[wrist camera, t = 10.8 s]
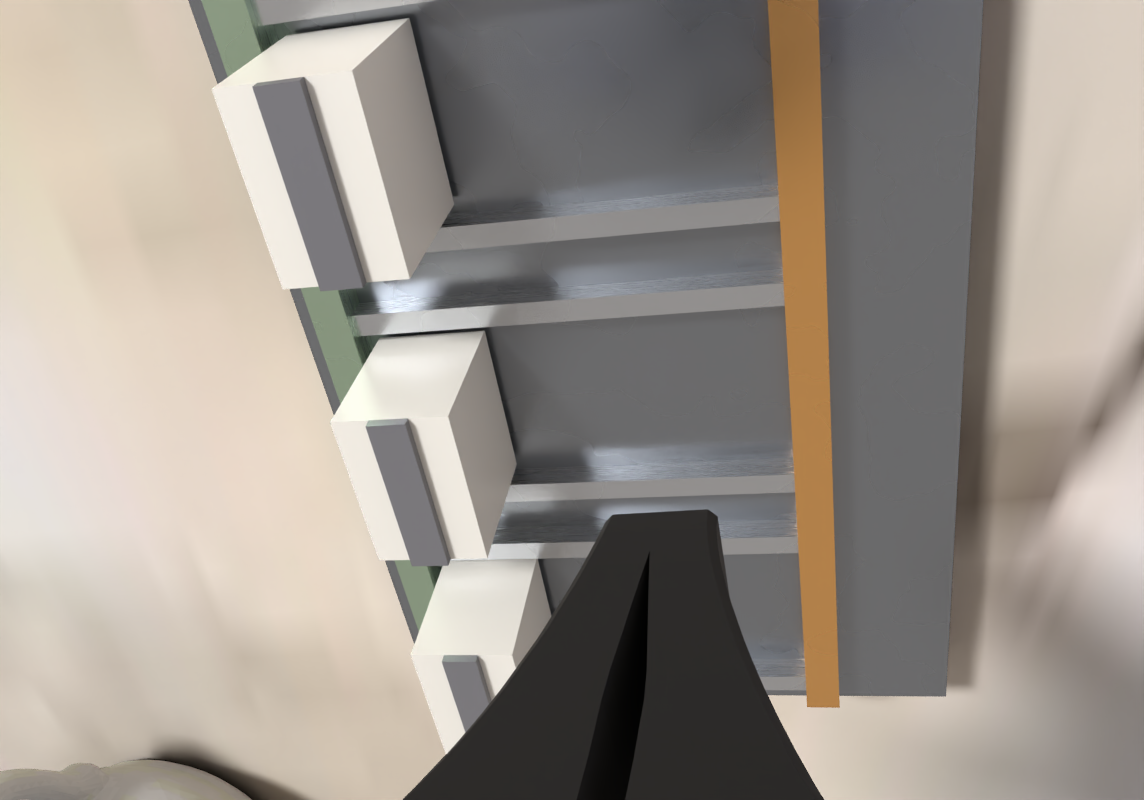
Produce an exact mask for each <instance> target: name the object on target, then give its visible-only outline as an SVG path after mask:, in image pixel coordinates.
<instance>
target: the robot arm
mask: <svg viewBox="0 0 1144 800" xmlns="http://www.w3.org/2000/svg"><path fill="white" fill-rule="evenodd" d="M403 800H824V799H823V797H822V795H821V794H820V792H819V791H818V789H817V787H816V786H815V784H814V782H813V781H812V779H811V777H810V775H809V774H808V772H807V770H806V768H805V766H804V765H803V763H802V761H801V759H800V758H799V756H798V754H797V752H796V750H795V749H794V747H793V745H792V743H791V741H790V739H789V737H788V735H787V733H786V731H785V729H784V728H783V726H782V724H781V722H780V720H779V718H778V716H777V714H776V712H775V710H774V708H773V706H772V703H771V701H770V699H769V697H768V695H767V693H766V691H765V688H764V686H763V684H762V681H761V679H760V677H759V675H758V672H757V670H756V668H755V665H754V663H753V661H752V658H751V656H750V653H749V651H748V648H747V646H746V643H745V641H744V638H743V635H742V632H741V629H740V626H739V624H738V621H737V618H736V615H735V612H734V609H733V606H732V603H731V600H730V596H729V590H728V583H727V576H726V569H725V563H724V556H723V549H722V542H721V536H720V529H719V522H718V516H717V515H715V514H714V513H712V512H711V511H710V510H708V509H704V510H685V511H667V512H649V513H631V514H613V515H612V516H611V517H610V518H609V519H608V520H607V521H606V522H605V524H604V526H603V528H602V530H601V532H600V534H599V536H598V537H597V539H596V541H595V543H594V545H593V547H592V549H591V551H590V552H589V554H588V556H587V558H586V560H585V562H584V563H583V565H582V567H581V569H580V570H579V572H578V574H577V576H576V577H575V579H574V581H573V582H572V584H571V586H570V587H569V589H568V591H567V593H566V594H565V596H564V597H563V599H562V600H561V602H560V604H559V605H558V607H557V608H556V610H555V612H554V613H553V615H552V616H551V618H550V619H549V621H548V623H547V624H546V626H545V627H544V629H543V630H542V632H541V634H540V635H539V637H538V638H537V640H536V641H535V642H534V644H533V645H532V647H531V648H530V649H529V651H528V652H527V654H526V655H525V656H524V658H523V659H522V661H521V662H520V663H519V665H518V666H517V668H516V669H515V670H514V672H513V673H512V675H511V676H510V677H509V679H508V680H507V681H506V683H505V684H504V686H503V687H502V688H501V690H500V691H499V692H498V693H497V695H496V696H495V697H494V699H493V700H492V701H491V702H490V704H489V705H488V706H487V707H486V709H485V710H484V711H483V712H482V714H481V715H480V716H479V717H478V718H477V720H476V721H475V722H474V723H473V724H472V726H471V727H470V728H469V729H468V730H467V731H466V733H465V734H464V735H463V736H462V737H461V738H460V740H459V741H458V742H457V743H456V744H455V745H454V746H453V748H452V749H451V750H450V751H449V752H448V753H447V754H446V755H445V756H444V757H443V758H442V759H441V760H440V761H439V762H438V764H437V765H436V766H435V767H434V768H433V769H432V770H431V771H430V772H429V773H428V774H427V775H426V776H425V777H424V778H423V779H422V780H421V782H420V783H419V784H418V785H417V786H416V787H415V788H414V789H413V790H412V791H411V792H410V793H409V794H408V795H407V796H406V797H405V798H404V799H403Z"/></svg>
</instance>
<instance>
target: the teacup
mask: <svg viewBox="0 0 1144 800" xmlns="http://www.w3.org/2000/svg"><path fill="white" fill-rule="evenodd" d="M0 800H252V799H251V798H249V797H248V796H247V795H246V794H244V793H243V792H242V791H240V790H238V789H237V788H235V787H233V786H232V785H230V784H228V783H227V782H225V781H223V780H221V779H220V778H218V777H216V776H214V775H211V774H209V773H207V772H204V771H202V770H199V769H196V768H193V767H190V766H186V765H181V764H177V763H172V762H168V761H160V760H133V761H127V762H122V763H119V764H116V765H113V766H111V767H104V768H99V767H97V766H95V765H93V764H84V763H77V764H73V765H70V766H68V767H67V768H65V769H63V770H62V771H60V772H56V771H48V770H38V769H14V770H6V771H0Z"/></svg>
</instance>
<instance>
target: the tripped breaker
mask: <svg viewBox="0 0 1144 800" xmlns="http://www.w3.org/2000/svg"><path fill="white" fill-rule="evenodd" d="M550 618H551V612H550V608H549V604H548V600H547V596H546V592H545V587H544V583H543V579H542V575H541V571H540V567H539V563H538V559H496V560H450V563H449V565H448V566H442V569H441V572H440V575H439V578H438V580H437V583H436V586H435V589H434V591H433V594H432V597H431V600H430V603H429V605H428V608H427V611H426V614H425V616H424V619H423V622H422V625H421V628H420V630H419V633H418V636H417V639H416V641H415V644H414V647H413V650H412V653H411V658H412V661H413V663H414V666H415V669H416V672H417V675H418V677H419V680H420V683H421V686H422V689H423V691H424V694H425V697H426V700H427V703H428V705H429V708H430V711H431V714H432V717H433V719H434V722H435V725H436V728H437V731H438V733H439V736H440V739H441V742H442V745H443V747H444V750H445V753H446V754H447V753H448V752H449V751H450V750H451V749H452V748H453V746H454V745H455V744H456V743H457V742H458V741H459V740H460V738H461V737H462V736H463V735H464V734H465V733H466V731H467V730H468V729H469V728H470V727H471V726H472V724H473V723H474V722H475V721H476V720H477V718H478V717H479V716H480V715H481V714H482V712H483V711H484V710H485V709H486V707H487V706H488V705H489V704H490V702H491V701H492V700H493V699H494V697H495V696H496V695H497V693H498V692H499V691H500V690H501V688H502V687H503V686H504V684H505V683H506V681H507V680H508V679H509V677H510V676H511V675H512V673H513V672H514V670H515V669H516V668H517V666H518V665H519V663H520V662H521V661H522V659H523V658H524V656H525V655H526V654H527V652H528V651H529V649H530V648H531V647H532V645H533V644H534V642H535V641H536V640H537V638H538V637H539V635H540V634H541V632H542V630H543V629H544V627H545V626H546V624H547V623H548V621H549V619H550Z"/></svg>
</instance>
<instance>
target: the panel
mask: <svg viewBox="0 0 1144 800" xmlns="http://www.w3.org/2000/svg"><path fill="white" fill-rule="evenodd" d="M188 1H189V4H190V7H191V9H192V12H193V15H194V18H195V21H196V24H197V27H198V29H199V32H200V35H201V38H202V41H203V44H204V46H205V49H206V52H207V55H208V58H209V61H210V64H211V66H212V69H213V72H214V75H215V78H216V81H217V83H218V84H219V83H220V82H222V81H223V80H224V79H226V78H227V77H229V76H230V75H232V74H233V73H234V72H236V71H237V70H239V69H240V68H241V67H243V66H244V65H246V64H247V63H248V62H250V61H251V60H253V59H254V58H255V57H257V56H258V55H260V54H261V53H262V52H264V51H265V50H267V49H268V48H269V47H271V46H272V45H274V44H275V43H276V42H278V41H279V40H281V39H282V38H283V37H285V36H286V35H291V34H298V33H305V32H312V31H319V30H326V29H333V28H341V27H348V26H355V25H362V24H369V23H376V22H383V21H390V20H397V19H404V18H410V23H411V27H412V31H413V35H414V39H415V43H416V47H417V52H418V56H419V60H420V64H421V68H422V72H423V77H424V81H425V85H426V89H427V93H428V97H429V101H430V106H431V110H432V114H433V118H434V122H435V126H436V131H437V135H438V139H439V143H440V147H441V151H442V155H443V160H444V164H445V168H446V172H447V176H448V180H449V185H450V189H451V193H452V197H453V201H454V206H453V207H452V209H451V211H450V212H449V214H448V216H447V217H446V219H445V221H444V222H443V224H442V226H441V228H440V229H439V231H438V233H437V234H436V236H435V238H434V239H433V241H432V243H431V244H430V246H429V248H428V249H427V251H426V253H425V254H424V256H423V258H422V259H421V261H420V263H419V264H418V266H417V268H416V269H415V271H414V273H413V274H412V276H411V278H410V279H403V280H391V281H379V282H367V283H366V284H365V286H364V287H363V288H356V289H344V290H332V291H320V289H319V287H307V288H295V289H290V291H291V294H292V297H293V300H294V303H295V306H296V308H297V311H298V314H299V317H300V320H301V323H302V325H303V328H304V331H305V334H306V337H307V340H308V343H309V345H310V348H311V351H312V354H313V357H314V360H315V362H316V365H317V368H318V371H319V374H320V377H321V380H322V382H323V385H324V388H325V391H326V394H327V397H328V399H329V402H330V405H331V408H332V411H333V414H334V415H335V413H336V411H337V410H338V408H339V406H340V404H341V403H342V401H343V399H344V398H345V396H346V394H347V393H348V391H349V389H350V387H351V386H352V384H353V382H354V381H355V379H356V377H357V376H358V374H359V372H360V370H361V369H362V367H363V365H364V364H365V362H366V360H367V359H368V357H369V355H370V353H371V352H372V350H373V348H374V347H375V345H376V343H377V342H378V340H379V338H386V337H400V336H414V335H429V334H443V333H457V332H471V331H485V334H486V338H487V342H488V347H489V351H490V355H491V359H492V363H493V367H494V371H495V376H496V380H497V384H498V388H499V392H500V396H501V401H502V405H503V409H504V413H505V417H506V421H507V425H508V430H509V434H510V438H511V442H512V446H513V450H514V455H515V459H516V463H517V465H516V468H515V471H514V475H513V478H512V481H511V484H510V487H509V491H508V494H507V497H506V500H505V503H504V507H503V510H502V513H501V516H500V520H499V523H498V526H497V529H496V532H495V536H494V539H493V542H492V545H491V548H490V552H489V555H488V558H478V559H451V560H496V559H538V563H539V567H540V571H541V575H542V579H543V583H544V587H545V592H546V596H547V600H548V604H549V608H550V612H551V616H552V615H553V613H554V612H555V610H556V608H557V607H558V605H559V604H560V602H561V600H562V599H563V597H564V596H565V594H566V593H567V591H568V589H569V587H570V586H571V584H572V582H573V581H574V579H575V577H576V576H577V574H578V572H579V570H580V569H581V567H582V565H583V563H584V562H585V560H586V558H587V556H588V554H589V552H590V551H591V549H592V547H593V545H594V543H595V541H596V539H597V537H598V536H599V534H600V532H601V530H602V528H603V526H604V524H605V522H606V521H607V520H608V519H609V518H610V517H611V516H612V515H613V514H631V513H649V512H667V511H685V510H704V509H708V510H710V511H711V512H712V513H714V514H715V515H717V516H718V522H719V529H720V536H721V542H722V549H723V556H724V563H725V569H726V576H727V583H728V590H729V596H730V600H731V603H732V606H733V609H734V612H735V615H736V618H737V621H738V624H739V626H740V629H741V632H742V635H743V638H744V641H745V643H746V646H747V648H748V651H749V653H750V656H751V658H752V661H753V663H754V665H755V668H756V670H757V672H758V675H759V677H760V679H761V681H762V684H763V686H764V688H765V691H766V693H767V695H807V707H840V706H839V696H946V685H947V666H948V648H949V629H950V611H951V592H952V574H953V555H954V537H955V518H956V500H957V481H958V462H959V444H960V425H961V407H962V388H963V370H964V351H965V333H966V314H967V296H968V277H969V259H970V240H971V222H972V203H973V184H974V166H975V147H976V129H977V110H978V92H979V73H980V55H981V36H982V18H983V0H188ZM385 562H386V565H387V567H388V570H389V573H390V576H391V579H392V582H393V585H394V587H395V590H396V593H397V596H398V599H399V602H400V604H401V607H402V610H403V613H404V616H405V619H406V622H407V624H408V627H409V630H410V633H411V636H412V639H413V641H414V644H415V641H416V639H417V636H418V633H419V630H420V628H421V625H422V622H423V619H424V616H425V614H426V611H427V608H428V605H429V603H430V600H431V597H432V594H433V591H434V589H435V586H436V583H437V580H438V578H439V575H440V572H441V569H442V566H412V565H411V562H410V560H385Z"/></svg>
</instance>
